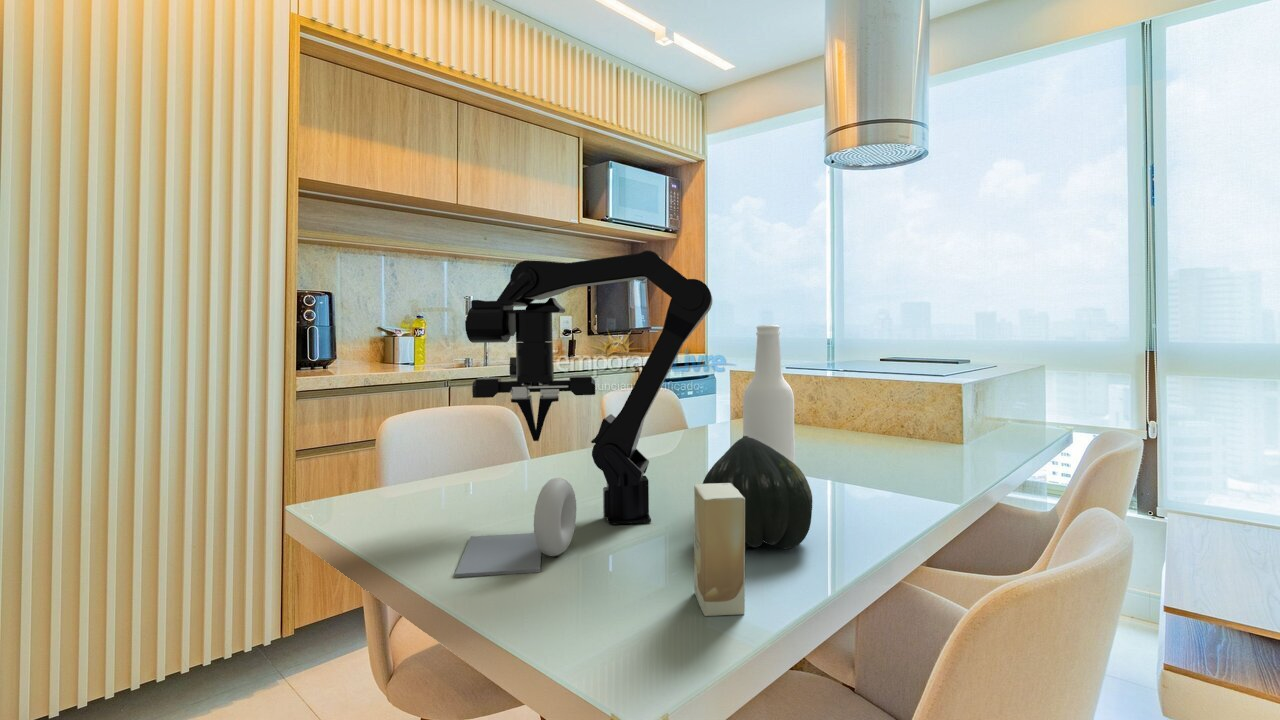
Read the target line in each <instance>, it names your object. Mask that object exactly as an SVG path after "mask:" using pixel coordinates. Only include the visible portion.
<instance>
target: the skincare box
mask: <svg viewBox="0 0 1280 720" xmlns="http://www.w3.org/2000/svg"><path fill="white" fill-rule="evenodd" d="M693 491H694V503H693V504H694V505H693V507H694V533H693V534H694V538H693V539H694V543H693V545H694V547H693V548H694V550H693V551H694V562H693V563H694V565H693V566H694V567H693V569H694V574H693V575H694V578H693V581H694V585H693V586H694V588H693V589H694V595H695V598H696V600H697V603H698V605H699V608H700V609H701V612H702V614H703V615H704V616H705V617H710V616H712V617H714V616H733V615H736V616H737V615H738V616H739V615H745V610H746V608H745V600H746V599H745V597H746V596H745V595H746V594H745V591H746V590H745V589H746V588H745V585H746V584H745V583H746V577H745V572H746V571H745V570H746V567H745V566H746V565H745V564H746V554H745V553H746V548H745V498H744V497H743V496H742V494H741V493H740V492H739V490H738V489H736V488H735V487H734V486H733V485H732V483H714V484H703V483H698V484H697V483H695V484H694V490H693Z"/></svg>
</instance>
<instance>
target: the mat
mask: <svg viewBox="0 0 1280 720" xmlns="http://www.w3.org/2000/svg"><path fill="white" fill-rule="evenodd" d="M541 561H542V552H541V550H540V549H539V547H538V545H537V543H536V539H535V534H534V532H525V533H508V534H506V533H505V534H493V535H492V534H491V535H489V534H488V535H474V536H473V535H472V536H470V538H469V541H468V542H467V544H466V547H465V549H464V552H463V553H462V557H461V559H460V561H459V563H458V566H457V568H456V570H455V572H454V578H464V577H465V578H466V577H467V578H469V577H482V576H483V577H484V576H497V575H498V576H499V575H511V574H512V575H516V574H528V573H531V574H532V573H540V572H541V566H542V565H541V563H542V562H541Z"/></svg>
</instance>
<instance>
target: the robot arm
mask: <svg viewBox="0 0 1280 720" xmlns="http://www.w3.org/2000/svg"><path fill="white" fill-rule="evenodd" d="M509 276H510V280H509V282H508V284H506V286H505V288H504V289H503V291H502V292H501V294H500V295H499V296H498V298H497V299H496V300H481V299H472V300H471V301H470V303H471V304H470V305H471V306H470V308H469V310H468V312H467V315H466V320H465V321H464V326H465V328H464V329H465V332H466V337H467V338H468V341H469V342H471V343H473V344H475V343H476V344H477V343H479V344H480V343H481V344H482V343H483V344H484V343H488V344H489V343H492V344H493V343H508V342H509V341H510V339H511V337H514V336H515V357H514V356H513V357H511V356H510V357H509V377H510V378H511V379H516V380H513V381H512V380H510V381H508V380H507V381H506V380H503V381H502V377H500V376H499V377H498V376H492V377H491V376H490V377H487V376H486V377H484V376H483V377H477V378H476V379H475V380H474V381H473V382H472V387H471V389H472V392H471V393H472V399H473V398H474V399H475V398H478V399H482V398H483V399H485V398H489V399H490V398H494V397H495V396H496V395H497V394H500V393H501V394H506V393H508V394H510V395H511V398H510V403H514V404H517V405H518V407H519V409H520V412H521V413H522V414H523V417H524V419H525V421H526V424H527V427H528V429H529V432H530V435H531V437H532V440H533V442H539V441H540V437H541V435H542V430H543V427H544V424H545V419H546V417H547V415H548V412H549V410H550V408H551V406H552V404H553V402H554V403H555V402H559V401H560V400H559V399H560V398H559V397H560V396H559V394H560V392H571V393H572V394H573V395H574V396H595V395H596V380H595V378H593V377H592V376H591V375H569V378H568V379H560V380H555V379H554V377H555V376H554V351H553V350H554V349H553V345H554V344H553V341H554V340H553V314H564V313H565V312H566V309H565V308H564V307H563V306H562V305H560V303H559V302H558V301H557V299H556V298H555V296H559V295H561V294H563V293H566V292H568V291H570V290H574V289H577V288H583V287H592V286H598V285H607V284H613V283H621V282H628V281H629V282H630V281H637V280H643V279H644V280H649V282H651V283H653V284H654V285H655V286H656V287H657V288H659V289H660V290H661V291H662V292H664V293H665V294H666V295H668V297H670V298H671V299H670V301H669V305H668V308H667V311H666V315H665V319H664V324H663V326H662V330H661V333H660V335H659V337H658V338H657V341H656V342H655V345H654V346H653V348H652V350H651V352H650V354H649V356H648V358H647V360H646V362H645V364H644V366H643V368H642V370H641V371H640V374H639V376H638V378H637V379H636V381H635V383H634V385H633V387H632V389H631V391H630V393H629V394H628V396H627V399H626V400H625V403H624V405H623V406H622V409H621V410H620V412H619V413H618V414H617V415H616V416H614V415H613V414H611V413H610V414H609V415H607V416H606V417H604V418H603V419H602V421H601V424H600V427H599V430H598V433H597V434H596V436H595V437H594V438H593V439H592V440H591V441H590V442H591V444H594V445H593V448H592V450H591V457H592V459H593V462H594V464H595V466H596V467H597V468H598V470H600V471H601V472H602V474H603V475H604V476H603V477H604V478H605V479H604V480H605V481H606V486H603V488H602V501H603V502H602V504H603V505H602V507H603V509H602V511H603V516H604V517H605V519H607V520H606V521H607V523H608V524H609V525H621V524H622V525H625V524H626V525H627V524H641V523H645V524H646V523H651V522H652V518H651V516H650V509H649V508H650V506H649V505H650V499H649V497H650V492H649V490H650V489H649V485H650V484H649V479H648V477H647V476H646V475H645V474H646V473H647V469H648V466H649V463H650V460H649V459H648V458H647V457H646V456H645V455H644V454H642V452H640V451H639V449H638V448H637V447H638V443H639V439H640V437H641V433H642V429H643V426H644V422H645V419H646V417H647V415H648V413H649V411H650V409H651V407H652V405H653V403H654V401H655V399H656V398H657V395H658V394H659V392H660V389H662V386H663V384H664V382H665V380H666V378H667V376H668V374H669V373H670V371H671V369H672V367H673V365H674V363H675V361H676V359H677V357H678V355H679V354H680V352H681V349H682V347H683V346H684V343H685V342H686V341H687V340H688V339H689V338H690V336H691V335H692V333H694V331H695V330H696V328H697V327H698V326H699V325H700V323H701V322H702V321H703V320H704V318H705V317H706V316H707V314H708V313H709V312H710V310H711V308H712V306H713V296H712V292H711V290H710V289H709V286H708V285H707V284H706V283H705V282H703V281H702V280H700V279H696V278H687V277H685V275H683V274H682V273H680V272H679V271H678V270H676V269H675V268H674V267H672V266H671V265H669V263H667V262H666V261H665V260H663V259H662V257H660V255H659V254H658V253H656V252H655V251H653V250H643V251H641V252H638V253H630V254H624V255H618V256H617V255H615V256H610V257H601V258H595V259H589V260H588V259H587V260H580V261H572V262H562V261H561V262H560V261H549V260H531V259H530V260H529V259H528V260H522V261H519V262H518V263H516V264H515V266H514V267H513V269H511V273H510V275H509ZM545 299H547V301H545V302H534V301H536V300H537V301H541V300H545ZM515 307H516V308H517V307H525V309H514V308H515ZM537 392H538V393H540V396H539V402H538V411H537V417H536V418H537V420H536V422H535V413H534V407H533V398H532V395H530V394H531V393H537Z"/></svg>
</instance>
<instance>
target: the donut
mask: <svg viewBox="0 0 1280 720" xmlns="http://www.w3.org/2000/svg"><path fill="white" fill-rule="evenodd" d="M575 493H576V492H575V490H574V488H573V486H572V484H571V483H570V482H569V481H568V480H567V479H566V478H563V477H555V478H551V479H549V480H548V481H546V483H545V484H544V485H543V486H542V487H541V490H540V491H539V494H538V496H537V500H536V502H535V503H536V504H535V506H534V507H535V509H534V514H533V533H534V534H535V539H536V543H537V545H538V547H539V549H540V550H541V553H543V554H545V555H546V556H550V557H557V556H559V555H561V554H562V553H564V552H565V551H566V550H567V549H568V547H569V546H570V544H571V541H572V539H573V536H574V532H575V527H576V520H577V499H576V494H575Z"/></svg>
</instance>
